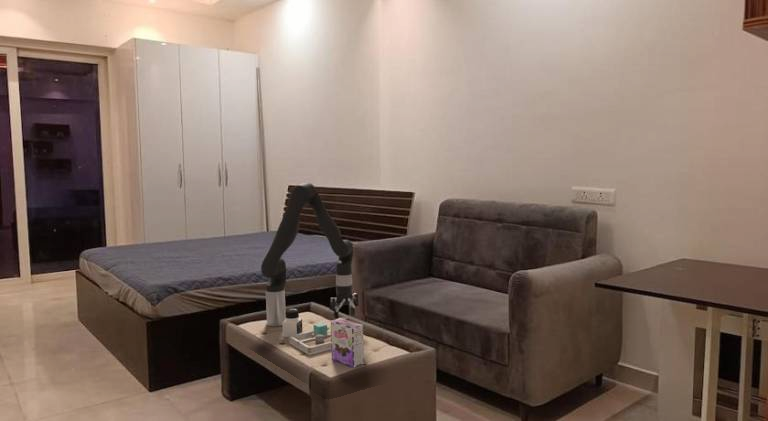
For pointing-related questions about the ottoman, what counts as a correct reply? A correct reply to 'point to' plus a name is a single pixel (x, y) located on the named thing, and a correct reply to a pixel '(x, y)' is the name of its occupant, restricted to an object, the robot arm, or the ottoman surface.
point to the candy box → (347, 342)
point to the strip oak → (328, 330)
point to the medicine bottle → (292, 323)
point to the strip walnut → (318, 344)
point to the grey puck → (319, 339)
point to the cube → (320, 329)
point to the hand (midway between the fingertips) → (344, 317)
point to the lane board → (306, 337)
